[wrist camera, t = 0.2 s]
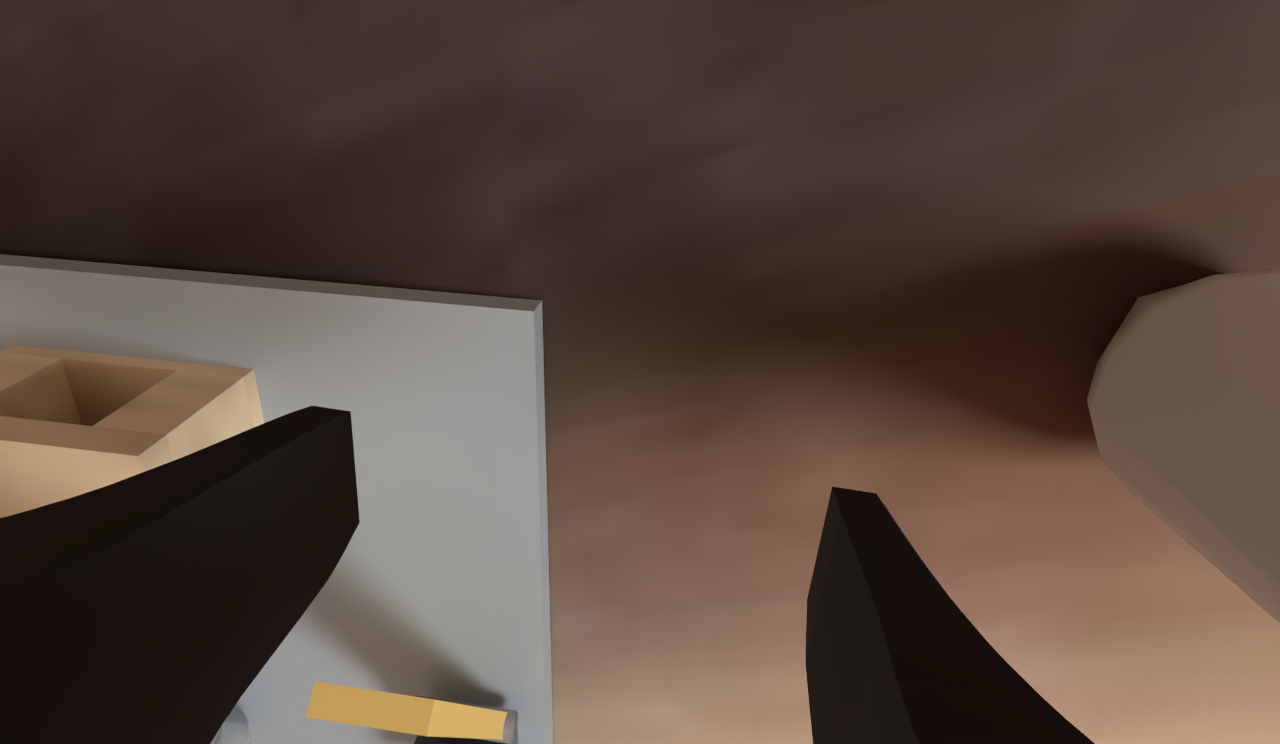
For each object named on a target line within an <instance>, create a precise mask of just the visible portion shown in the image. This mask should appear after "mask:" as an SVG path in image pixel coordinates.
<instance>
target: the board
mask: <svg viewBox="0 0 1280 744" xmlns="http://www.w3.org/2000/svg"><path fill="white" fill-rule="evenodd" d="M12 345H18V346H27V347H37V348H47V349H57V350H67V351H77V352H87V353H97V354H107V355H117V356H126V357H136V358H146V359H156V360H166V361H176V362H186V363H196V364H206V365H216V366H226V367H235V368H245V369H254V374H255V379H256V384H257V389H258V394H259V399H260V404H261V409H262V415H263V420H264V423H266V422H268V421H271V420H273V419H276V418H278V417H281V416H283V415H286V414H289V413H291V412H294V411H297V410H300V409H303V408H306V407H310V406H319V407H325V408H331V409H338V410H344V411H351V422H352V434H353V447H354V459H355V471H356V483H357V496H358V508H359V520H360V523H359V525H358V527H357V529H356V530H355V532H354V534H353V536H352V538H351V540H350V542H349V544H348V546H347V548H346V550H345V552H344V553H343V555H342V557H341V559H340V561H339V562H338V564H337V566H336V568H335V569H334V571H333V573H332V575H331V576H330V578H329V579H328V581H327V582H326V584H325V585H324V586H323V588H322V589H321V591H320V592H319V593H318V595H317V596H316V597H315V599H314V600H313V601H312V603H311V604H310V605H309V607H308V608H307V610H306V611H305V612H304V614H303V615H302V616H301V618H300V619H299V620H298V622H297V623H296V624H295V626H294V627H293V628H292V630H291V631H290V632H289V634H288V635H287V636H286V638H285V639H284V640H283V642H282V643H281V644H280V646H279V647H278V648H277V650H276V651H275V652H274V654H273V655H272V656H271V658H270V659H269V660H268V662H267V663H266V664H265V666H264V667H263V668H262V670H261V671H260V672H259V674H258V675H257V676H256V678H255V679H254V680H253V682H252V683H251V684H250V686H249V687H248V688H247V690H246V691H245V692H244V694H243V695H242V696H241V698H240V699H239V701H238V702H237V703H236V706H237V707H239V708H240V709H241V710H242V711H243V713H244V714H245V716H246V718H247V721H248V725H249V729H250V733H251V737H252V740H253V744H414V742H415V740H416V738H417V736H418V735H415V734H408V733H402V732H396V731H389V730H383V729H377V728H370V727H364V726H358V725H351V724H345V723H339V722H332V721H326V720H320V719H313V718H307V717H305V716H306V713H307V709H308V705H309V702H310V698H311V695H312V691H313V687H314V684H315V682H322V683H328V684H335V685H342V686H348V687H355V688H361V689H368V690H375V691H381V692H388V693H395V694H401V695H408V696H415V695H418V696H424V697H431V698H437V699H444V700H451V701H457V702H464V703H470V704H477V705H484V706H490V707H497V708H504V709H510V710H517V712H518V722H517V725H518V744H553V718H552V678H551V638H550V598H549V558H548V518H547V478H546V438H545V398H544V358H543V318H542V300H531V299H520V298H508V297H496V296H484V295H473V294H461V293H449V292H438V291H426V290H414V289H403V288H391V287H379V286H367V285H356V284H344V283H332V282H321V281H309V280H297V279H285V278H274V277H262V276H250V275H239V274H227V273H215V272H204V271H192V270H180V269H168V268H157V267H145V266H133V265H122V264H110V263H98V262H86V261H75V260H63V259H51V258H40V257H28V256H16V255H4V254H0V351H2V350H4V349H6V348H8V347H10V346H12Z"/></svg>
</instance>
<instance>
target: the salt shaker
mask: <svg viewBox="0 0 1280 744" xmlns="http://www.w3.org/2000/svg"><path fill="white" fill-rule="evenodd" d="M1087 403H1088V407H1089V412H1090V416H1091V420H1092V424H1093V429H1094V433H1095V437H1096V441H1097V445H1098V449H1099V453H1100V456H1101V460H1102V461H1103V462H1104V463H1105V464H1106V465H1107V467H1108V468H1109V469H1110V470H1111V471H1112V472H1113V473H1114V474H1115V475H1116V476H1117V477H1118V478H1119V479H1120V480H1121V482H1122V483H1123V484H1124V485H1125V486H1126V487H1127V488H1128V489H1129V490H1130V491H1131V492H1132V493H1133V494H1134V495H1135V497H1137V498H1138V499H1139V500H1140V501H1141V502H1142V503H1143V504H1145V505H1146V506H1147V507H1148V508H1149V509H1150V510H1151V511H1153V512H1154V513H1155V514H1156V515H1157V516H1158V517H1159V518H1161V519H1162V520H1163V521H1164V522H1165V523H1166V524H1167V525H1168V526H1170V527H1171V528H1172V529H1173V530H1174V531H1175V532H1176V533H1178V534H1179V535H1180V536H1181V537H1182V538H1183V539H1184V540H1186V541H1187V542H1188V543H1189V544H1190V545H1191V546H1192V547H1194V548H1195V549H1196V550H1197V551H1198V552H1199V553H1200V554H1202V555H1203V556H1204V557H1205V558H1206V559H1207V560H1208V561H1210V562H1211V563H1212V564H1213V565H1214V566H1215V567H1216V568H1217V569H1219V570H1220V571H1221V572H1222V573H1223V574H1224V575H1225V576H1227V577H1228V578H1229V579H1230V580H1231V581H1232V582H1233V583H1235V584H1236V585H1237V586H1238V587H1239V588H1240V589H1241V590H1243V591H1244V592H1245V593H1246V594H1247V595H1248V596H1249V597H1251V598H1252V599H1253V600H1254V601H1255V602H1256V603H1257V604H1259V605H1260V606H1261V607H1262V608H1263V609H1264V610H1265V611H1266V612H1268V613H1269V614H1270V615H1271V616H1272V617H1273V618H1274V619H1276V620H1277V621H1278V622H1279V623H1280V268H1278V269H1268V270H1258V271H1247V272H1237V273H1227V274H1218V275H1212V276H1209V277H1206V278H1203V279H1199V280H1196V281H1193V282H1190V283H1187V284H1184V285H1181V286H1178V287H1174V288H1170V289H1167V290H1163V291H1159V292H1156V293H1152V294H1148V295H1145V296H1141V297H1138V299H1137V300H1136V302H1135V303H1134V305H1133V307H1132V308H1131V310H1130V311H1129V313H1128V314H1127V316H1126V318H1125V319H1124V321H1123V322H1122V324H1121V326H1120V327H1119V329H1118V330H1117V332H1116V333H1115V335H1114V337H1113V338H1112V340H1111V341H1110V343H1109V344H1108V346H1107V348H1106V349H1105V351H1104V352H1103V354H1102V355H1101V357H1100V359H1099V360H1098V362H1097V365H1096V368H1095V372H1094V376H1093V379H1092V383H1091V387H1090V390H1089V394H1088V397H1087Z"/></svg>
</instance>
